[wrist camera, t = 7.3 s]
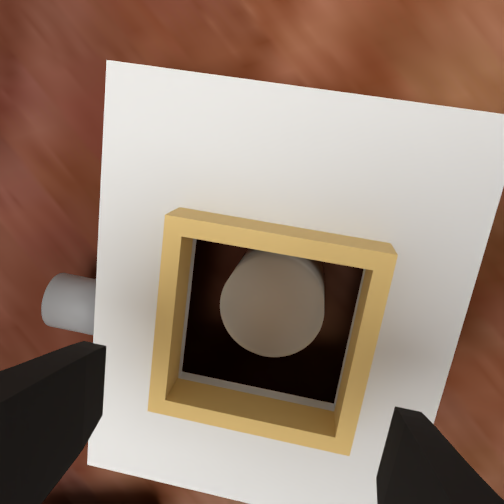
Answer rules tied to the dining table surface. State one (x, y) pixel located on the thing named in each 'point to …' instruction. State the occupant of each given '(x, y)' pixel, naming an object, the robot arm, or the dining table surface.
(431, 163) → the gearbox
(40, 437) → the robot arm
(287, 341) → the cylinder
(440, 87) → the dining table surface
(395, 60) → the dining table surface
